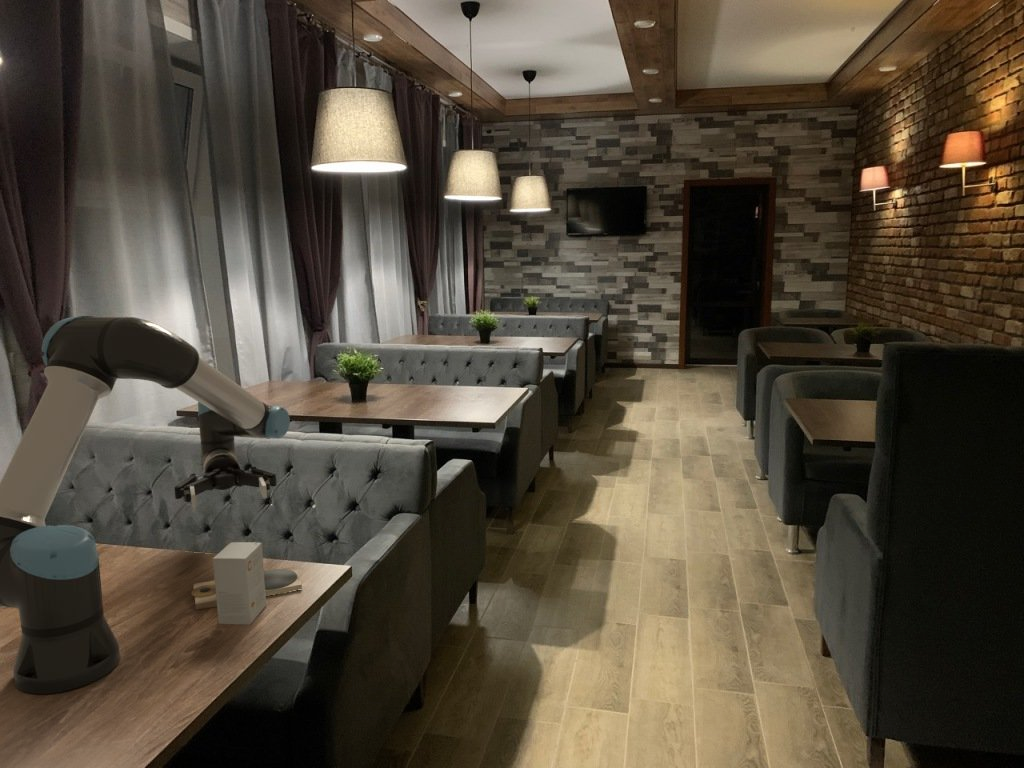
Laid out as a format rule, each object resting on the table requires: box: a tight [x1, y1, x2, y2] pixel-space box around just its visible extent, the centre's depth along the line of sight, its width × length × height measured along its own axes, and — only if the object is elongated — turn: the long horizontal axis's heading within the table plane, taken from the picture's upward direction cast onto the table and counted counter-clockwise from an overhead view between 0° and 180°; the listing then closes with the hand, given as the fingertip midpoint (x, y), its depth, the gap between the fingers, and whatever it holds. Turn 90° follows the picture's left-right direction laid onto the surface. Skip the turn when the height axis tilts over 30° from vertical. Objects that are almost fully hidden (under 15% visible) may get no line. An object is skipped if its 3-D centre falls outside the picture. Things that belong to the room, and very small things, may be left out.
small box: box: [212, 541, 267, 625], centre depth 143 cm, size 8×6×13 cm
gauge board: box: [191, 566, 303, 611], centre depth 155 cm, size 10×20×2 cm, turn 115°
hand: (229, 496), depth 154 cm, fingers open, 13 cm apart
